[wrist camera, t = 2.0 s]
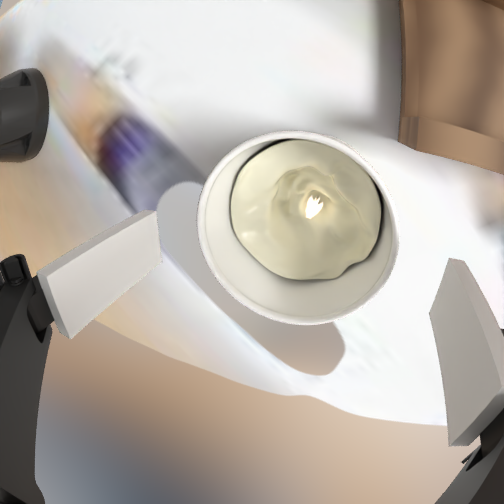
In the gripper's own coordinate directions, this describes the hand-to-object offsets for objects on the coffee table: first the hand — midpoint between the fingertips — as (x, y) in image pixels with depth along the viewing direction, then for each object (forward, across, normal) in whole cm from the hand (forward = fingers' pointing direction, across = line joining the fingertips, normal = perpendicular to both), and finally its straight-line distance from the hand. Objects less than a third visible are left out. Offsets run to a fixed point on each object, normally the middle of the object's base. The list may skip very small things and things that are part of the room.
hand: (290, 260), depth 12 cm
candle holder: (+14, 0, 0) cm, 14 cm away
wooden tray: (+14, +13, +13) cm, 23 cm away
